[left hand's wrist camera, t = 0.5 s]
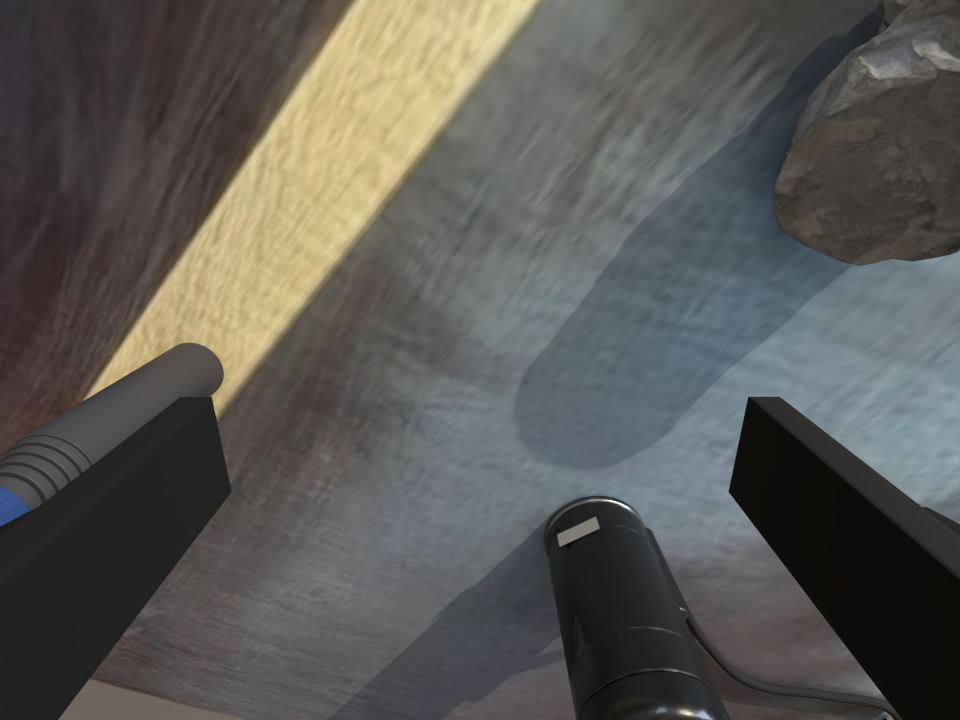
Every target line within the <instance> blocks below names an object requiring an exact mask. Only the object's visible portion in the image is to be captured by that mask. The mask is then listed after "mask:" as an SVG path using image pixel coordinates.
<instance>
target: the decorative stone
mask: <svg viewBox="0 0 960 720" xmlns="http://www.w3.org/2000/svg"><path fill="white" fill-rule="evenodd" d="M881 3H882V6H883V9H884V16H883V20H882V23H881V25H880V26H879V29H878V31H877V34H876V36H875V37H873V38H872V39H870V40H869V41H868V42H867V43H865V44H863V45H861V46H859V47H857V48H855V49H853V50H851V51H850V52H849V53H847V54H846V56H845V57H844V59H843V60H842V61H841V63H840V64H839V65H838V66H837V67H836V68H835V69H834V70H833V71H832V72H830V73H829V74H828V75H827V76H826V77H825V78H824V79H823V80H822V81H821V82H820V83H819V84H818V85H817V86H816V88H815V89H814V90H813V91H812V92H811V94H810V95H809V96H808V97H807V100H806V102H805V105H804V108H803V110H802V112H801V114H800V115H799V117H798V118H797V120H796V124H795V129H794V134H793V137H792V140H791V142H790V145H789V148H788V151H786V152H785V161H784V163H783V166H782V170H781V173H780V175H779V177H778V179H777V181H776V183H775V185H774V188H773V203H774V210H775V215H776V220H777V224H778V226H779V227H780V228H781V229H782V230H783V231H784V232H786V233H787V234H788V235H790V236H791V237H793V238H794V239H796V240H797V241H799V242H801V243H802V244H804V245H805V246H807V247H809V248H812V249H814V250H816V251H818V252H821V253H823V254H825V255H827V256H830V257H832V258H835V259H837V260H839V261H842V262H845V263H850V264H854V265H859V266H860V265H866V264H872V263H876V262H880V261H884V260H889V259H898V260H905V261H917V260H923V259H930V258H936V257H941V256H945V255H950V254H953V253H955V252H958V251H959V250H960V0H881Z"/></svg>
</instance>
